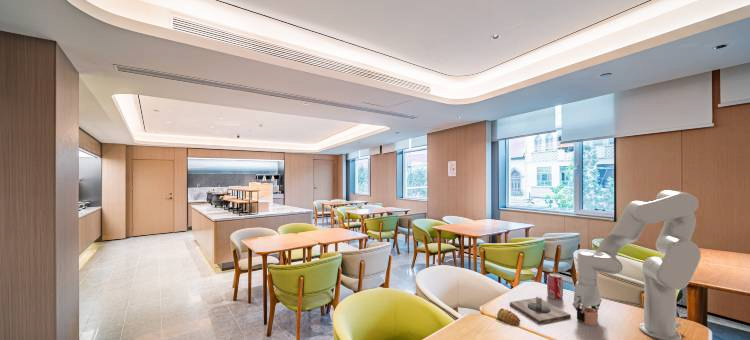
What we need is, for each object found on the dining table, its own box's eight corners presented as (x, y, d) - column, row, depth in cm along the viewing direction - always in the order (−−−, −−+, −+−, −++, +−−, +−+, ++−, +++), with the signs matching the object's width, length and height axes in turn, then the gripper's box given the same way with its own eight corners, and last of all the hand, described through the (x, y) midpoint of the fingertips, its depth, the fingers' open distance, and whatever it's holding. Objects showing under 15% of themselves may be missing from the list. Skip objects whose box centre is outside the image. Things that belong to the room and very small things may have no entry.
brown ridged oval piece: (523, 322, 129) (523, 313, 129) (515, 327, 125) (515, 318, 125) (503, 313, 137) (503, 305, 137) (495, 318, 133) (495, 310, 133)
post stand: (538, 300, 150) (538, 287, 150) (570, 317, 132) (570, 303, 132) (509, 305, 145) (509, 292, 145) (539, 323, 127) (539, 309, 127)
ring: (585, 315, 134) (585, 304, 134) (600, 323, 128) (601, 312, 127) (574, 317, 132) (574, 307, 132) (589, 325, 126) (589, 314, 126)
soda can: (562, 296, 154) (562, 274, 154) (563, 301, 148) (563, 278, 148) (547, 293, 158) (547, 271, 157) (547, 298, 152) (547, 275, 151)
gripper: (593, 274, 136) (593, 312, 136) (564, 279, 131) (564, 317, 131) (610, 281, 128) (610, 320, 129) (580, 285, 124) (580, 326, 124)
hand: (587, 318), depth 130 cm, fingers closed on ring, 7 cm apart
